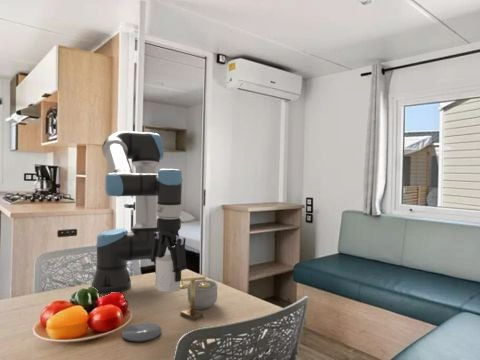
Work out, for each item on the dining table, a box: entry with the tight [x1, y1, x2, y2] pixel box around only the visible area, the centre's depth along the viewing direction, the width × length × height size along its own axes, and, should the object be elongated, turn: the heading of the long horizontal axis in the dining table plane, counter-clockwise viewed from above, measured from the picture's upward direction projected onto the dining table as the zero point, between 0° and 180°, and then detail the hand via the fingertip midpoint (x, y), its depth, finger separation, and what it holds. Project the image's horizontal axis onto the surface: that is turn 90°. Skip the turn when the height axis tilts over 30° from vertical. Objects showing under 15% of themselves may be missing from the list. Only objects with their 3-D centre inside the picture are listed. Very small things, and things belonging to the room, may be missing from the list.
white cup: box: [155, 254, 178, 293], centre depth 116 cm, size 8×8×10 cm
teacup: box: [186, 278, 218, 310], centre depth 131 cm, size 14×11×8 cm
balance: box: [180, 275, 210, 322], centre depth 120 cm, size 15×4×14 cm, turn 50°
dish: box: [121, 322, 162, 343], centre depth 107 cm, size 11×11×1 cm
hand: (167, 287), depth 116 cm, fingers closed on white cup, 7 cm apart
